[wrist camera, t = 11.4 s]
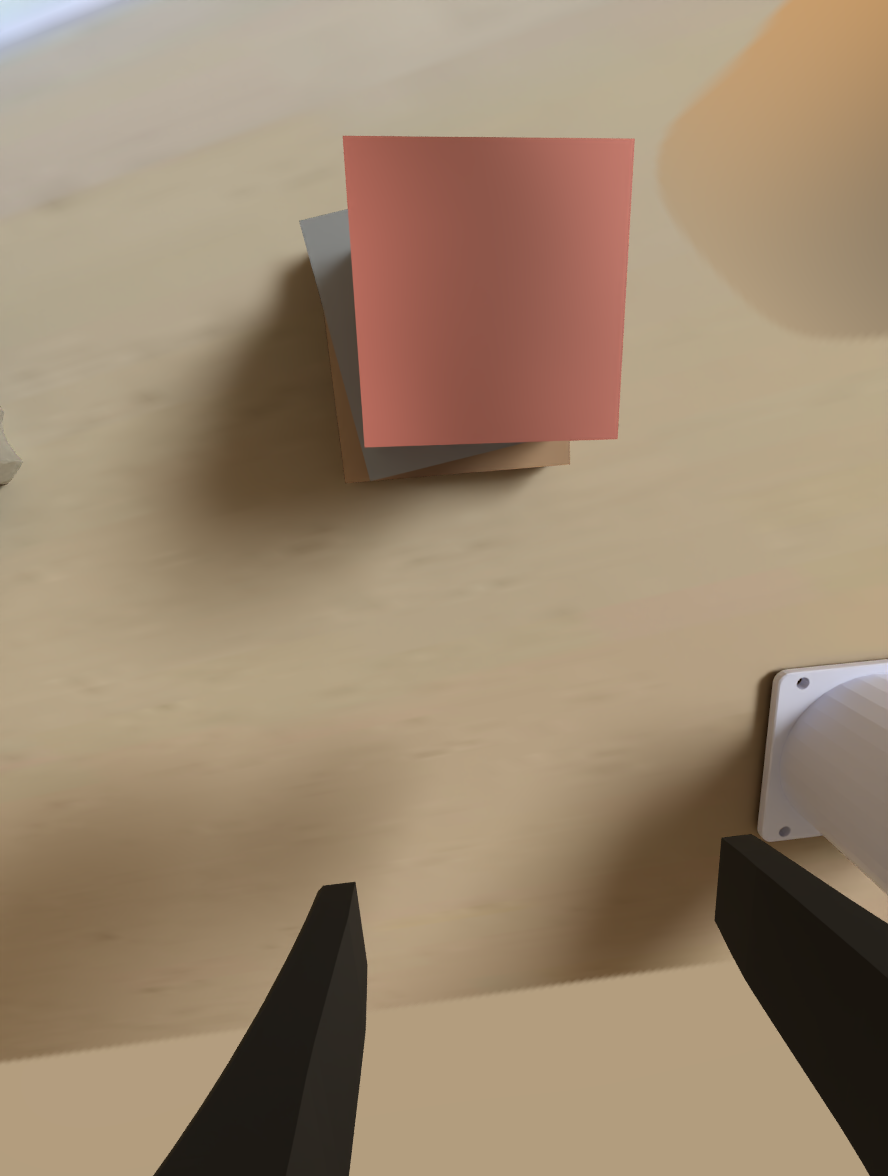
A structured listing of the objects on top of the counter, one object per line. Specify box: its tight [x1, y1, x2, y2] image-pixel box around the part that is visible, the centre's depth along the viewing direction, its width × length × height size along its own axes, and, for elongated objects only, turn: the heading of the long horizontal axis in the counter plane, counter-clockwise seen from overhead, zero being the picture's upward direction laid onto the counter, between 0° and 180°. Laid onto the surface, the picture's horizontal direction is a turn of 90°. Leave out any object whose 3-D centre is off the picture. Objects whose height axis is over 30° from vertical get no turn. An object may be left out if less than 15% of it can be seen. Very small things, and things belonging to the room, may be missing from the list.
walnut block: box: [323, 310, 570, 483], centre depth 16 cm, size 7×7×2 cm
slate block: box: [299, 209, 526, 481], centre depth 14 cm, size 6×6×2 cm
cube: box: [343, 136, 635, 447], centre depth 11 cm, size 4×4×4 cm
